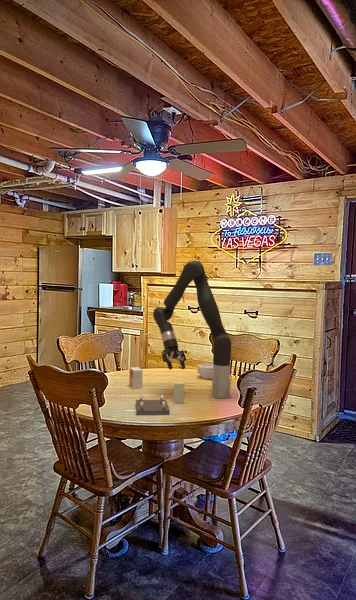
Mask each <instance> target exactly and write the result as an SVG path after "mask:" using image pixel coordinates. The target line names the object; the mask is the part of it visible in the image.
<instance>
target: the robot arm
mask: <svg viewBox="0 0 356 600" xmlns="http://www.w3.org/2000/svg"><path fill="white" fill-rule="evenodd" d="M180 273H181V274H180V275H179V277H178V279H177V281H176V283H175V284H174V286H173V287H172V288H171V290H170V292H169V293H168V294H167V296H166V297H165V298H164V300H163V304H164V306H165V307H160V306H159V307H156V308H154V309H153V312H152V317H153V319H154V322H155V323H156V325H157V327H158V328H159V331H160V335H161V340H162V345H163V348H164V349H163V350H162V351H161V352H160V353H161V357H162V361H163V362H162V363H166V364H167V368H168V369H169V370H173V363H172V361H171V360H176V361H178V362H179V365H180V368H181V370H185V369H186V363H185V362H186V361H187V357H186V353H185V351H184V350H183V349H182V350H179V343H178V339H177V337H176V333H175V332H174V328H173V325H172V323H171V322H170V321H169V320H171V318H172V316H173V315H174V311H175V308H176V306H178V304H179V302H180V301H181V299H182V298H183V296H184V294H185V292H186V289H187V288H188V286H190V284H191V283H192V282H193V283H194V286H195V289H196V297H197V303H198V307H199V310H200V312H201V315H202V317H203V319H204V321H205V323H206V324H207V327H208V328H209V330H210V333H211V337H212V342H213V354H212V356H213V357H212V364H213V379H211V380H212V382H211V384H212V385H211V396H212V397H213V398H216V399H227V398H231V384H232V382H231V380H232V379H231V361H232V360H231V358H232V341H231V337H229V335H228V333H227V331H226V329H225V327H224V325H223V323H222V322H223V321H222V318H221V314H220V310H219V307H218V305H217V301H216V299H215V297H214V294H213V292H212V289H211V287H210V285H209V281H208V277H207V276H206V275H207V274H206V271H205V267H204V265H203V264H202V262H200V261H198V260H192V261H189V262H187V263H185V264H184V267H183V269H182V271H181V272H180Z"/></svg>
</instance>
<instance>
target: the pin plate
mask: <svg viewBox="0 0 356 600" xmlns="http://www.w3.org/2000/svg"><path fill="white" fill-rule="evenodd" d="M159 396H160V397H159V399H144V395H143V394H142V395H141V394H140V395H139V399H135V411H136V412H135V413H136V416H161V415H162V416H165V415H166V416H170V407H169V404H168V401H167V399H164V394H162V395H159Z"/></svg>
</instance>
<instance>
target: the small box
mask: <svg viewBox="0 0 356 600" xmlns="http://www.w3.org/2000/svg"><path fill="white" fill-rule="evenodd" d="M143 371H144V370H143V369H142V368H141V367H139V366H136V367H134V366H132V367H129V380H128V383H129V387H130V388H131V389H133V390H135V389H136V390H137V389H143V373H144V372H143Z"/></svg>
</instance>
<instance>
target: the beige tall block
mask: <svg viewBox="0 0 356 600" xmlns="http://www.w3.org/2000/svg"><path fill="white" fill-rule="evenodd" d="M184 396H185V383H184V381H179V380H178V381H173V399H172V400H173V404H175V405H177V404H179V405H181V404H182V405H183V404H184V400H185V399H184V398H185V397H184Z"/></svg>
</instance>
